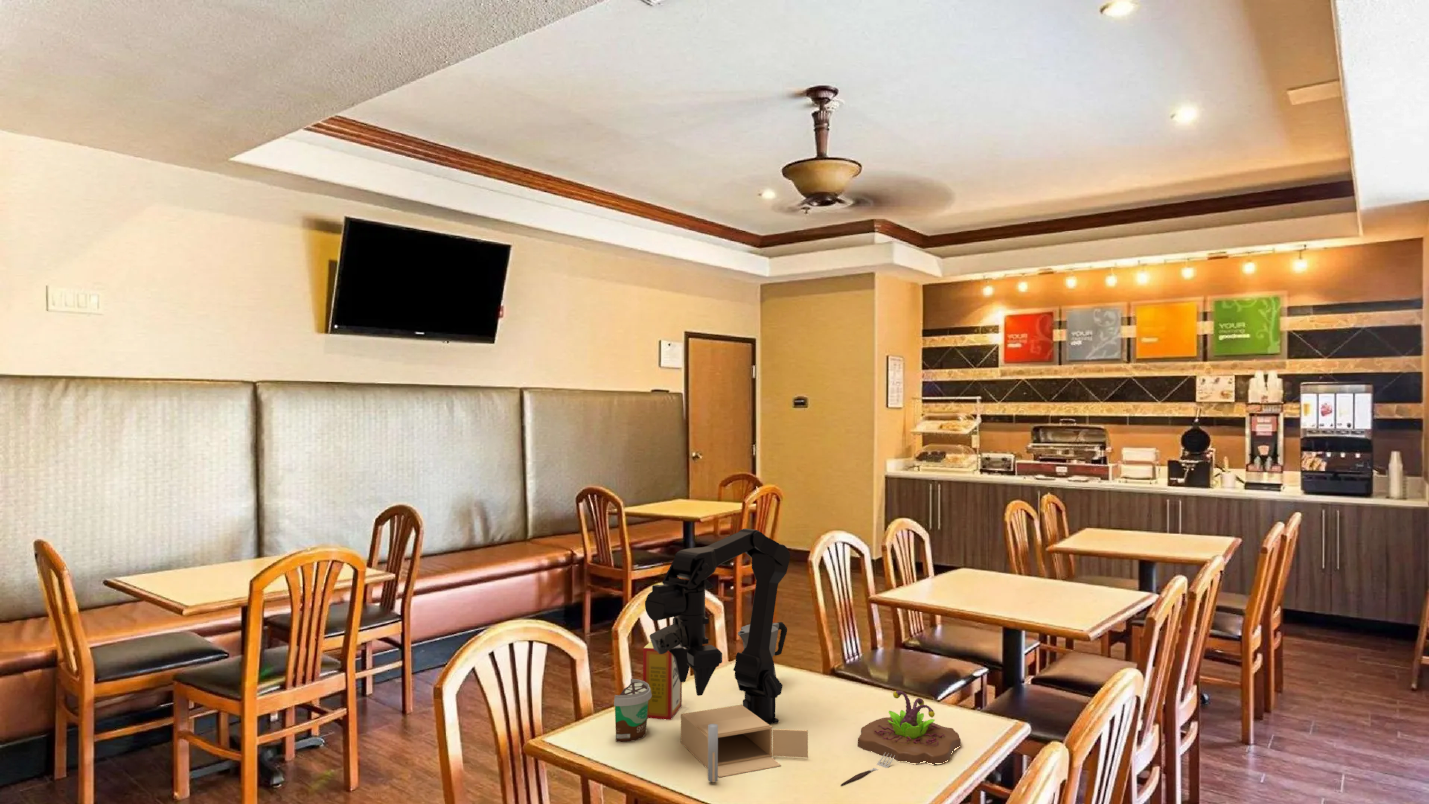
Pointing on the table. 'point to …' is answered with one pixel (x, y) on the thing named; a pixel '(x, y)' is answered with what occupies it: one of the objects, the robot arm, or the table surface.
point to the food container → (632, 711)
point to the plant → (909, 735)
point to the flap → (712, 752)
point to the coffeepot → (775, 627)
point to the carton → (740, 740)
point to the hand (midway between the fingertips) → (690, 688)
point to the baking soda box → (661, 683)
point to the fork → (868, 770)
